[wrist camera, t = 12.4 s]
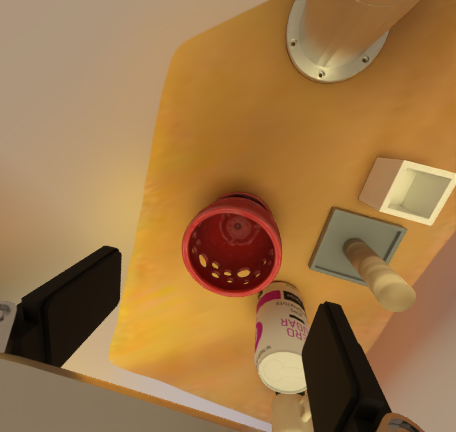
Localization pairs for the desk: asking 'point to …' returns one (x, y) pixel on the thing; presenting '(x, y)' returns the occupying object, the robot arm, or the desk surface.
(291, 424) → the character mug
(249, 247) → the plant pot
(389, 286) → the dowel
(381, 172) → the white open square box
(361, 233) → the tray
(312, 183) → the desk surface
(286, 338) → the supplement can
